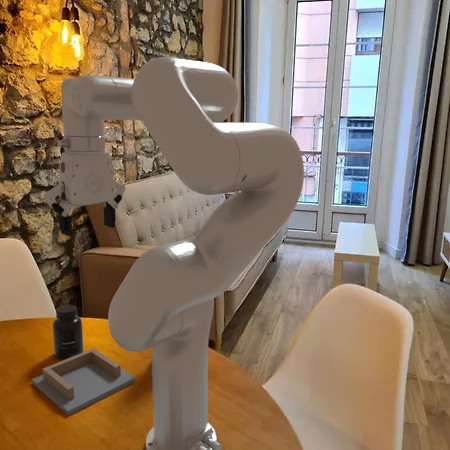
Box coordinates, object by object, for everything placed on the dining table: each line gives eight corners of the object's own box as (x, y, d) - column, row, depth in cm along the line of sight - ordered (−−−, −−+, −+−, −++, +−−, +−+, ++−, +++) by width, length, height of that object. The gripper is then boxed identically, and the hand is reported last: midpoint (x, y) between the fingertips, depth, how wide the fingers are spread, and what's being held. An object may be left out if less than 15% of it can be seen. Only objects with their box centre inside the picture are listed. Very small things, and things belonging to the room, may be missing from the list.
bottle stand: (135, 381, 97) (135, 367, 96) (68, 415, 86) (66, 399, 85) (96, 356, 108) (95, 343, 107) (32, 383, 96) (30, 368, 95)
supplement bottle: (67, 363, 104) (63, 317, 101) (48, 355, 108) (44, 310, 105) (89, 351, 110) (86, 306, 107) (71, 344, 113) (68, 301, 111)
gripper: (51, 148, 76) (57, 242, 80) (133, 145, 89) (135, 227, 93) (32, 145, 81) (38, 234, 85) (112, 143, 94) (114, 220, 98)
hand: (89, 230), depth 89 cm, fingers open, 9 cm apart
